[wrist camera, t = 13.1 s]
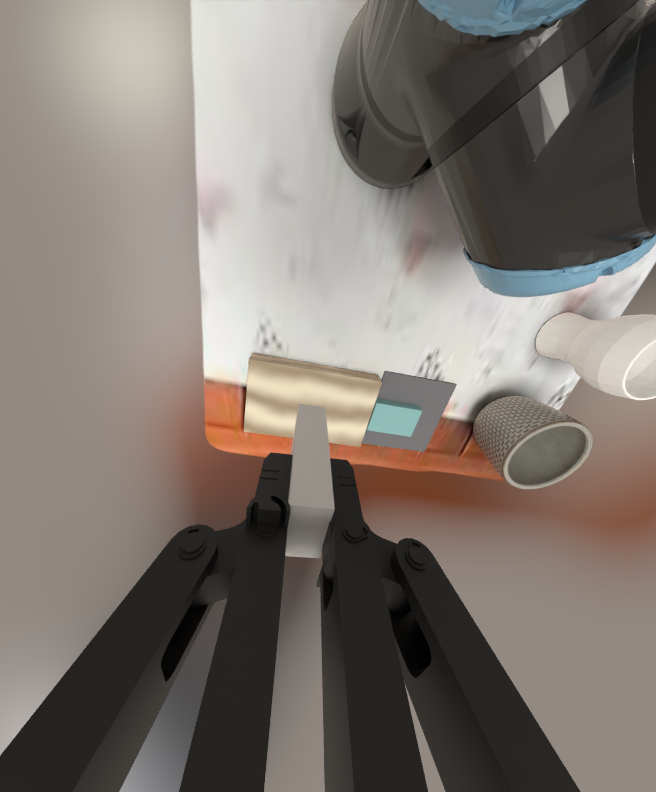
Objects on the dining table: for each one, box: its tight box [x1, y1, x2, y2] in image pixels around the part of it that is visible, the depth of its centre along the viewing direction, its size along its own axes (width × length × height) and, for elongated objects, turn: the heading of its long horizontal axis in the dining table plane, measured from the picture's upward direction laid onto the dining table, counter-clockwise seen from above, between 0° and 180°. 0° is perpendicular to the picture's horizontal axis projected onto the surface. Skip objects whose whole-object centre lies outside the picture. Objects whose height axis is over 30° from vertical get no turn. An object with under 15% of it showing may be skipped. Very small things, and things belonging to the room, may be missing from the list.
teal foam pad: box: [366, 398, 422, 437], centre depth 48 cm, size 9×6×2 cm, turn 77°
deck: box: [244, 353, 382, 447], centre depth 45 cm, size 14×22×3 cm, turn 78°
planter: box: [473, 396, 593, 489], centre depth 45 cm, size 14×14×13 cm
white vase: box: [535, 312, 656, 400], centre depth 37 cm, size 11×11×15 cm
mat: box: [362, 371, 456, 452], centre depth 49 cm, size 16×14×1 cm
